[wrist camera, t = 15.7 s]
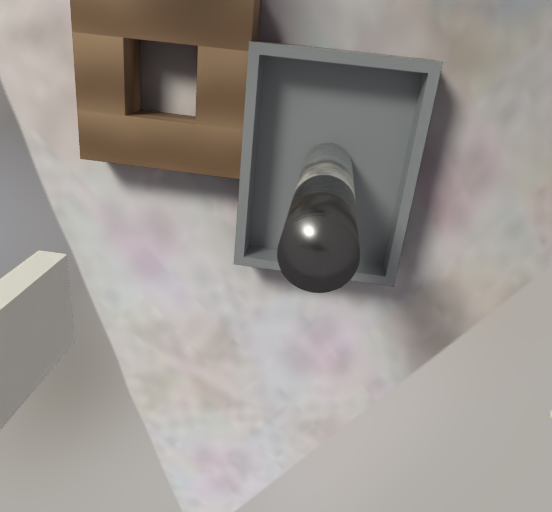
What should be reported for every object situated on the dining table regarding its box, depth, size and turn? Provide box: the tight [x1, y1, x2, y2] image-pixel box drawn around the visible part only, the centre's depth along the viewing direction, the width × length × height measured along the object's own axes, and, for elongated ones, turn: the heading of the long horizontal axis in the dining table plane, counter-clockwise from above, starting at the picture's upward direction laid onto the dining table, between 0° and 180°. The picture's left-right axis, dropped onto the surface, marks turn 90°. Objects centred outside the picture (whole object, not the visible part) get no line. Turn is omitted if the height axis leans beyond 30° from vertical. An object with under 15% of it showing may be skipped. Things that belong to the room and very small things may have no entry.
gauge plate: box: [70, 0, 261, 179], centre depth 29 cm, size 10×10×2 cm
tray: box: [234, 41, 443, 287], centre depth 30 cm, size 13×10×3 cm
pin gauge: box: [277, 143, 360, 293], centre depth 25 cm, size 3×3×14 cm
